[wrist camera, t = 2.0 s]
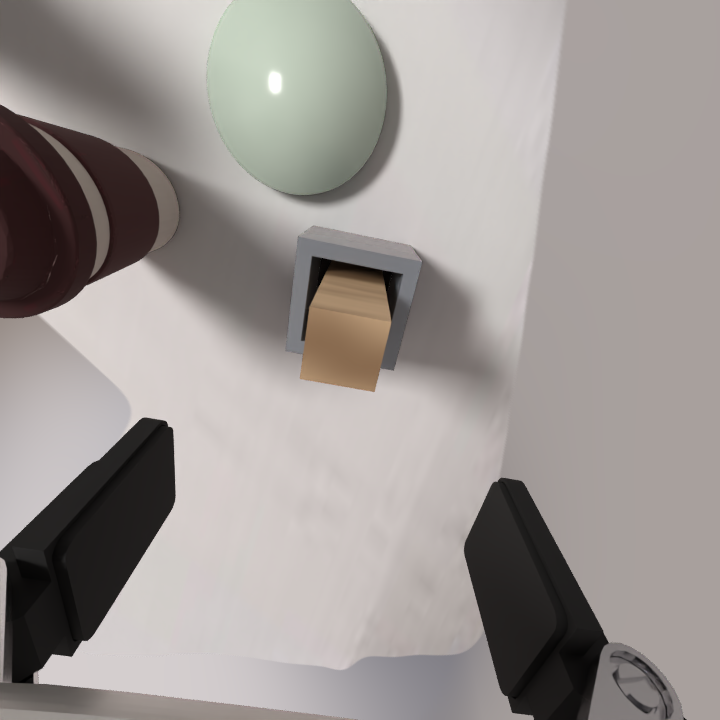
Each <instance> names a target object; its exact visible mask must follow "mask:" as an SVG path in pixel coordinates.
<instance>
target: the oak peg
mask: <svg viewBox="0 0 720 720" xmlns="http://www.w3.org/2000/svg"><path fill="white" fill-rule="evenodd" d="M390 326H391V316H390V311H389V305H388V300H387V294H386V289H385V283H384V278H383V272H382V270H380V269H375V268H370V267H365V266H360V265H355V264H350V263H345V262H340V261H335V260H332V261H331V263H330V265H329V267H328V269H327V271H326V273H325V276H324V278H323V280H322V282H321V284H320V286H319V288H318V290H317V292H316V294H315V296H314V299H313V301H312V303H311V305H310V307H309V315H308V322H307V330H306V337H305V344H304V352H303V359H302V366H301V374H300V379H304V380H310V381H315V382H321V383H327V384H332V385H338V386H344V387H349V388H355V389H361V390H367V391H372V392H375V388H376V383H377V379H378V375H379V371H380V367H381V363H382V359H383V355H384V351H385V347H386V343H387V339H388V335H389V330H390Z"/></svg>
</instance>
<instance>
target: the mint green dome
mask: <svg viewBox="0 0 720 720" xmlns="http://www.w3.org/2000/svg"><path fill="white" fill-rule="evenodd" d="M207 91H208V98H209V104H210V108H211V112H212V115H213V119H214V122H215V124H216V127H217V130H218V132H219V134H220V136H221V138H222V140H223V142H224V144H225V145H226V147H227V148H228V150H229V152H230V153H231V155H232V156H233V157H234V158H235V160H236V161H237V162H238V163H239V164H240V165H241V166H242V167H243V168H244V169H245V170H246V171H247V172H248V173H249V174H250V175H251V176H253V177H254V178H255V179H257V180H258V181H260V182H261V183H263V184H265V185H266V186H268V187H271V188H273V189H275V190H277V191H281V192H285V193H288V194H295V195H312V194H318V193H323V192H326V191H330V190H332V189H334V188H336V187H339V186H341V185H342V184H344V183H345V182H347V181H348V180H350V179H351V178H352V177H353V176H354V175H355V174H356V173H357V172H358V171H359V170H360V169H361V168H362V167H363V166H364V164H365V163H366V161H367V160H368V158H369V157H370V156H371V154H372V152H373V150H374V148H375V146H376V144H377V141H378V139H379V136H380V133H381V130H382V126H383V121H384V117H385V111H386V103H387V84H386V73H385V68H384V63H383V58H382V55H381V52H380V48H379V45H378V43H377V40H376V38H375V36H374V34H373V31H372V29H371V28H370V26H369V24H368V23H367V21H366V19H365V18H364V16H363V15H362V14H361V12H360V11H359V10H358V8H357V7H356V6H355V5H354V4H353V3H352V2H351V1H350V0H233V1H232V3H231V4H230V5H229V6H228V7H227V9H226V11H225V12H224V14H223V16H222V17H221V19H220V21H219V23H218V25H217V27H216V30H215V32H214V35H213V38H212V42H211V45H210V50H209V55H208V61H207Z"/></svg>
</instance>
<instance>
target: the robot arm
mask: <svg viewBox="0 0 720 720" xmlns="http://www.w3.org/2000/svg"><path fill="white" fill-rule="evenodd" d="M175 496H176V495H175V466H174V438H173V429H172V428H171V427H168V424H167V422H166V421H163V420H157V419H151V418H142V419H141V420H139V421H138V422H137V423H136V424H135V425H134V426H133V427H132V428H131V429H130V430H129V431H128V432H127V433H126V434H125V435H124V436H123V437H122V438H121V439H120V440H119V441H118V442H117V443H116V444H115V445H114V446H113V447H112V448H111V449H110V450H109V451H108V452H107V453H106V454H105V455H104V456H103V457H102V458H101V459H100V460H99V461H96V462H94V463H92V464H91V465H89V466H88V467H87V468H86V469H85V470H84V471H83V472H82V473H81V474H80V475H79V476H78V477H77V478H75V479H74V480H73V481H72V482H71V483H70V484H69V485H68V486H67V487H66V488H65V489H64V490H63V491H62V492H61V493H60V494H59V495H58V496H57V497H56V498H55V499H54V500H53V501H52V502H51V503H50V504H49V505H48V506H47V507H46V508H45V509H44V510H43V511H41V512H40V513H39V515H37V516H36V517H35V518H34V519H33V520H32V521H31V522H30V523H29V524H28V525H27V526H26V527H25V528H24V529H23V530H22V531H21V532H20V533H19V534H18V535H17V536H16V537H15V538H14V539H13V540H12V541H11V542H9V543H8V544H7V545H6V546H5V547H4V548H3V549H2V550H1V551H0V720H356V719H348V718H340V717H332V716H323V715H315V714H308V713H298V712H291V711H283V710H274V709H266V708H258V707H250V706H242V705H234V704H224V703H216V702H208V701H199V700H190V699H182V698H174V697H165V696H157V695H148V694H140V693H130V692H122V691H111V690H101V689H91V688H79V687H70V686H69V687H68V686H59V685H49V684H39V679H38V678H39V677H38V671H39V670H40V669H42V668H43V666H44V665H45V664H46V662H47V661H48V659H49V658H50V656H51V655H52V654H55V655H63V656H70V657H72V656H73V654H74V653H75V651H76V649H77V648H78V646H79V645H80V643H81V642H82V641H87V640H89V639H90V638H91V637H92V636H93V635H94V633H95V632H96V630H97V629H98V627H99V625H100V624H101V622H102V621H103V619H104V617H105V616H106V614H107V613H108V611H109V609H110V608H111V606H112V605H113V603H114V601H115V600H116V598H117V597H118V595H119V593H120V592H121V590H122V589H123V587H124V585H125V584H126V582H127V581H128V579H129V577H130V576H131V574H132V572H133V571H134V569H135V568H136V566H137V564H138V563H139V561H140V560H141V558H142V556H143V555H144V553H145V552H146V550H147V548H148V547H149V545H150V544H151V542H152V540H153V539H154V537H155V536H156V534H157V532H158V531H159V529H160V528H161V526H162V524H163V523H164V521H165V520H166V518H167V516H168V515H169V513H170V512H171V510H172V508H173V505H174V502H175ZM464 554H465V558H466V562H467V566H468V570H469V574H470V577H471V581H472V585H473V589H474V592H475V596H476V600H477V604H478V607H479V611H480V615H481V619H482V622H483V626H484V630H485V634H486V637H487V641H488V645H489V648H490V653H491V656H492V660H493V664H494V667H495V671H496V675H497V679H498V683H499V686H500V689H501V691H502V693H503V694H504V695H505V696H508V699H509V703H510V707H511V710H512V713H517V714H525V715H533V717H534V720H686V719H685V718H684V717H683V712H682V706H681V703H680V701H679V699H678V696H677V694H676V692H675V690H674V689H673V687H672V686H671V684H670V683H669V681H668V680H667V678H666V677H665V676H664V675H663V673H662V672H661V671H660V670H659V669H658V668H657V667H656V666H655V664H653V663H652V662H651V661H650V660H649V659H648V658H646V657H645V656H644V655H643V654H641V653H640V652H638V651H637V650H635V649H633V648H632V647H630V646H627V645H624V644H622V643H609V642H608V641H607V639H606V637H605V635H604V633H603V630H602V628H601V626H600V624H599V622H598V620H597V619H596V617H595V615H594V613H593V611H592V609H591V607H590V605H589V604H588V602H587V600H586V598H585V596H584V595H583V593H582V591H581V589H580V587H579V585H578V583H577V581H576V579H575V578H574V576H573V574H572V572H571V570H570V568H569V566H568V564H567V563H566V561H565V559H564V557H563V555H562V553H561V551H560V550H559V548H558V546H557V544H556V542H555V540H554V538H553V537H552V535H551V533H550V531H549V529H548V527H547V525H546V523H545V522H544V520H543V518H542V516H541V514H540V512H539V510H538V509H537V507H536V505H535V503H534V501H533V499H532V498H531V496H530V494H529V492H528V490H527V488H526V486H525V485H524V483H523V482H522V481H519V480H512V479H507V478H500V479H499V480H498V482H493V484H492V485H491V487H490V490H489V492H488V494H487V496H486V498H485V500H484V503H483V505H482V507H481V509H480V511H479V513H478V516H477V518H476V520H475V522H474V524H473V526H472V529H471V531H470V533H469V535H468V537H467V539H466V542H465V546H464Z"/></svg>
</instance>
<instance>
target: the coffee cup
mask: <svg viewBox="0 0 720 720" xmlns="http://www.w3.org/2000/svg"><path fill="white" fill-rule="evenodd" d="M178 223H179V205H178V200H177V196H176V193H175V191H174V189H173V186H172V185H171V183H170V181H169V180H168V178H167V177H166V175H165V174H164V173H163V172H162V171H161V170H160V168H159V167H157V166H156V165H155V164H154V163H153V162H152V161H150V160H149V159H147V158H146V157H144V156H142V155H140V154H139V153H136V152H134V151H131V150H127V149H124V148H120V147H116V146H113V145H112V144H110V143H108V142H106V141H104V140H102V139H99V138H96V137H94V136H90V135H87V134H83V133H80V132H77V131H73V130H70V129H66V128H63V127H59V126H56V125H53V124H49V123H46V122H42V121H39V120H35V119H32V118H29V117H25V116H21V115H18V114H15V113H13V112H12V111H10V110H9V109H7V108H6V107H4V106H2V105H0V318H24V317H30V316H34V315H38V314H41V313H43V312H46V311H48V310H51V309H54V308H56V307H59V306H61V305H63V304H65V303H67V302H68V301H70V300H71V299H73V298H74V297H75V296H76V295H77V294H78V293H79V292H80V291H81V290H82V289H83V288H84V287H85V286H86V285H89V284H91V283H93V282H95V281H97V280H99V279H102V278H104V277H106V276H108V275H110V274H112V273H114V272H116V271H119V270H121V269H123V268H125V267H127V266H129V265H131V264H133V263H135V262H137V261H139V260H140V259H142V258H143V257H144V256H145V255H146V254H148V253H150V252H152V251H154V250H156V249H158V248H160V247H162V246H164V245H165V244H166V243H167V242H168V241H169V240H170V239H171V238H172V237H173V235H174V233H175V231H176V230H177V226H178Z"/></svg>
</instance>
